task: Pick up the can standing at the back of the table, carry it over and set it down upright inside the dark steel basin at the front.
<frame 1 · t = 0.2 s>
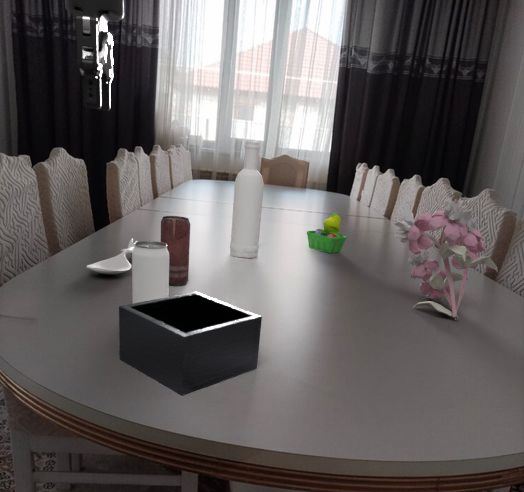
hand: (98, 109, 74), 33 cm above the table, tool pointing down, fingers open, 8 cm apart
can 2: (174, 283, 114), on the table
can: (150, 309, 96), on the table
basin: (189, 363, 75), on the table
green easter basket: (325, 250, 164), on the table
flower: (431, 305, 116), on the table
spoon: (126, 264, 125), on the table
bottle: (243, 255, 146), on the table
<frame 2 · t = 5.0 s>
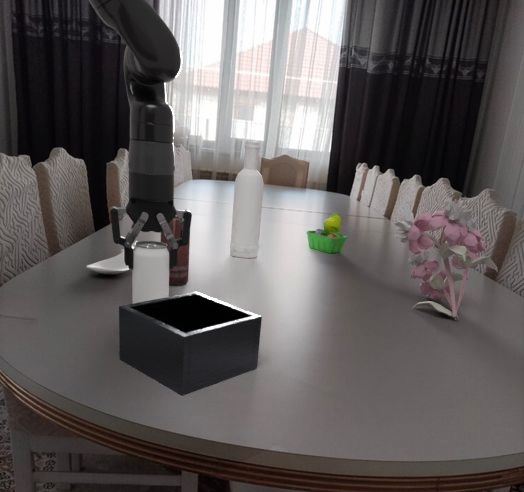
hand: (150, 267, 93), 8 cm above the table, tool pointing down, fingers closed on can, 6 cm apart
can: (150, 309, 96), on the table, touching gripper
everything else where it was.
when the fingers open (9 cm above the table, at t = 12.9 s): can stays where it is, resting on basin.
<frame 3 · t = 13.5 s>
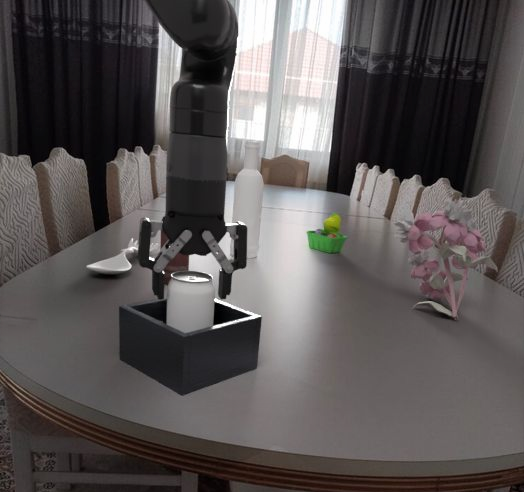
hand: (191, 297, 71), 10 cm above the table, tool pointing down, fingers open, 8 cm apart
can: (188, 358, 75), point 1 cm above the table, touching basin
everything else where it was.
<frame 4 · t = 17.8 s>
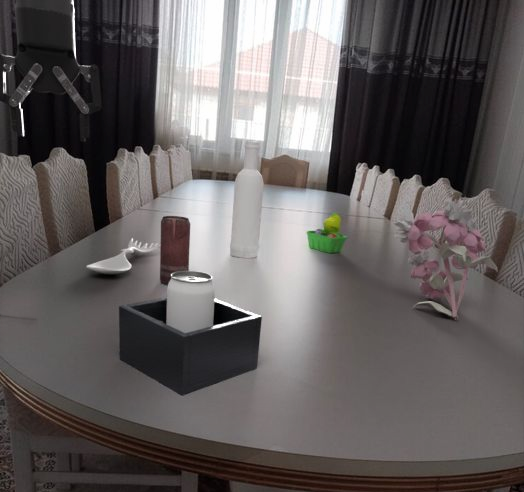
hand: (52, 138, 77), 28 cm above the table, tool pointing down, fingers open, 8 cm apart
nothing on the table moved.
at the end: can inside the target area in the basin (0.1 cm from its centre), point 0.8 cm above the basin's base; can tilted 0°; the gripper is holding nothing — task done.
